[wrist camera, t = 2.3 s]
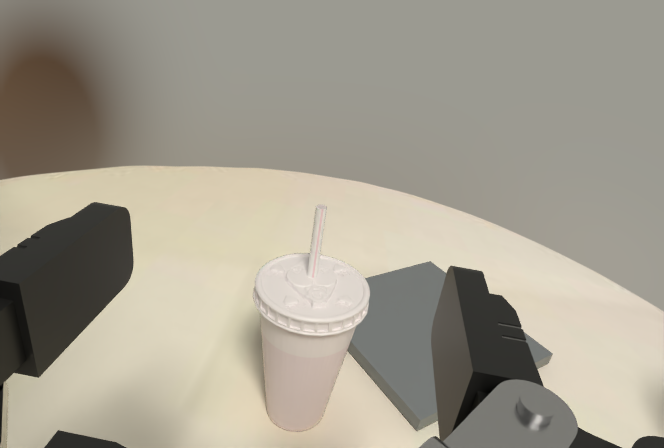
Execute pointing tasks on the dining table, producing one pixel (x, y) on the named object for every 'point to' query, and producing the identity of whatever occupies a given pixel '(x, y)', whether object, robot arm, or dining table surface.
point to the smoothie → (306, 328)
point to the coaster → (407, 339)
